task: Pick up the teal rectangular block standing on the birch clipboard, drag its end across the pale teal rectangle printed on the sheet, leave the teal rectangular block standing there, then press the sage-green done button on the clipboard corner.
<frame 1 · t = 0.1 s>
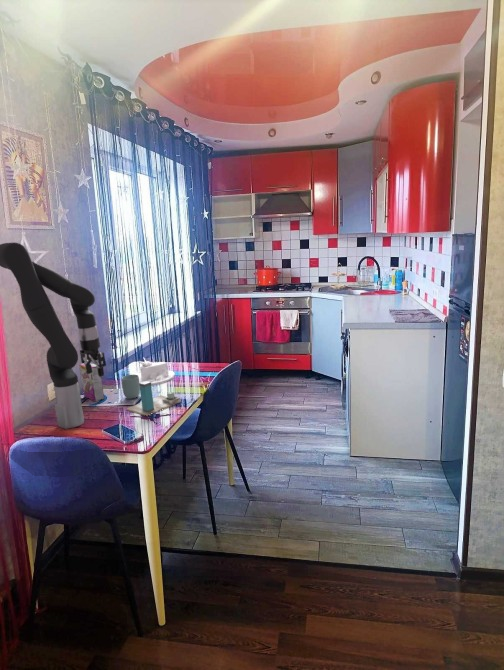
hand: (95, 374, 197), 17 cm above the table, tool pointing down, fingers open, 8 cm apart
candy bar box: (94, 398, 220), on the table
cup: (132, 397, 218), on the table
teal rectangular block: (148, 410, 198), point 1 cm above the table, touching clipboard
done button: (170, 395, 207), point 3 cm above the table, slide at 0.0 cm
clipboard: (154, 405, 205), on the table
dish: (151, 379, 246), on the table
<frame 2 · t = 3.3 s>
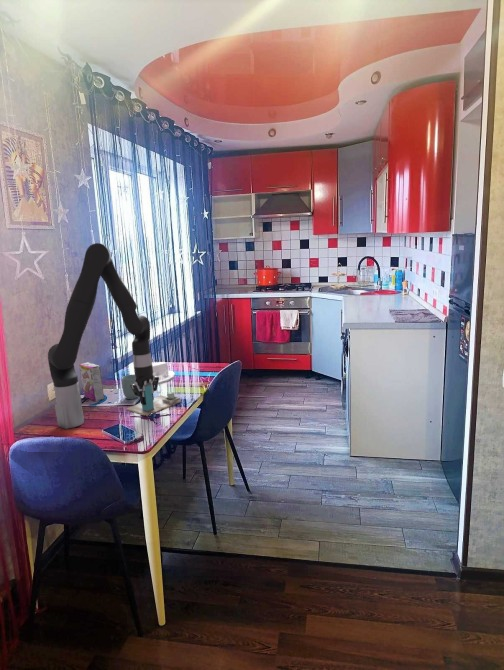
hand: (147, 402, 198), 4 cm above the table, tool pointing down, fingers closed on teal rectangular block, 3 cm apart
teal rectangular block: (148, 410, 198), point 1 cm above the table, touching clipboard, gripper
everything else where it was.
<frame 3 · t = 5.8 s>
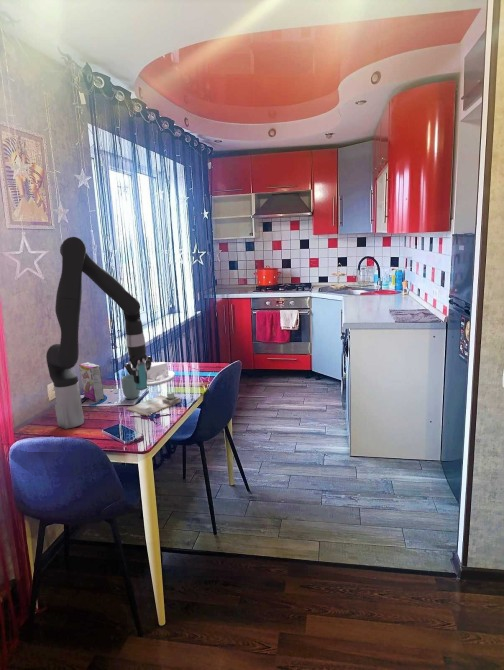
hand: (141, 381, 204), 11 cm above the table, tool pointing down, fingers closed on teal rectangular block, 3 cm apart
teal rectangular block: (141, 388, 205), point 8 cm above the table, touching gripper
everything else where it was.
when the fingers open (4 cm above the table, at t = 8.2 s): teal rectangular block stays where it is, resting on clipboard.
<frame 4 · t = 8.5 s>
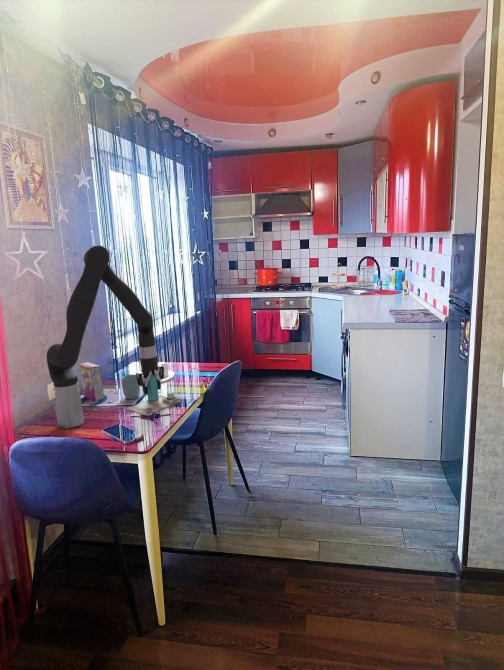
hand: (152, 391, 209), 5 cm above the table, tool pointing down, fingers open, 6 cm apart
teal rectangular block: (153, 400, 210), point 1 cm above the table, touching clipboard
everything else where it was.
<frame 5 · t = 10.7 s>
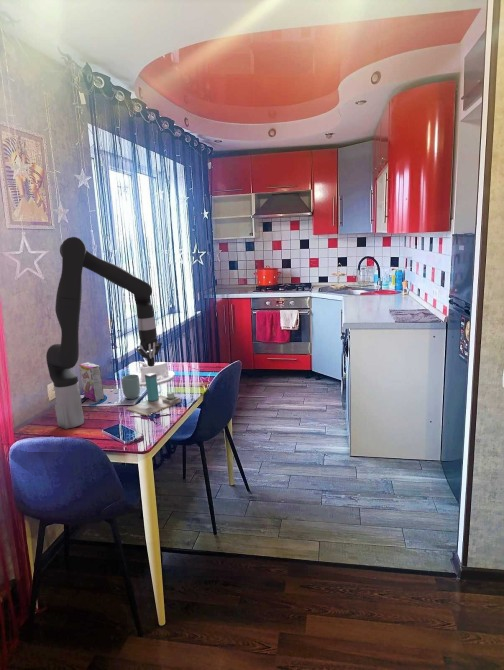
hand: (151, 365, 206), 17 cm above the table, tool pointing down, fingers closed
nothing on the table moved.
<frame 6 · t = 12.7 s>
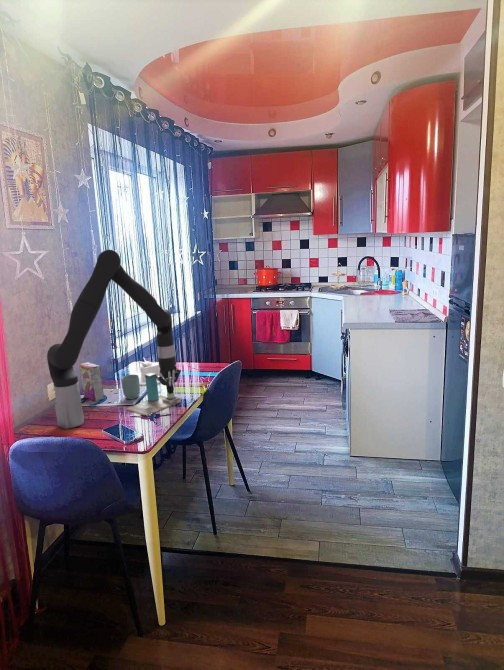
hand: (170, 393, 207), 4 cm above the table, tool pointing down, fingers closed
done button: (170, 395, 207), point 3 cm above the table, slide at 0.0 cm, touching gripper
everything else where it was.
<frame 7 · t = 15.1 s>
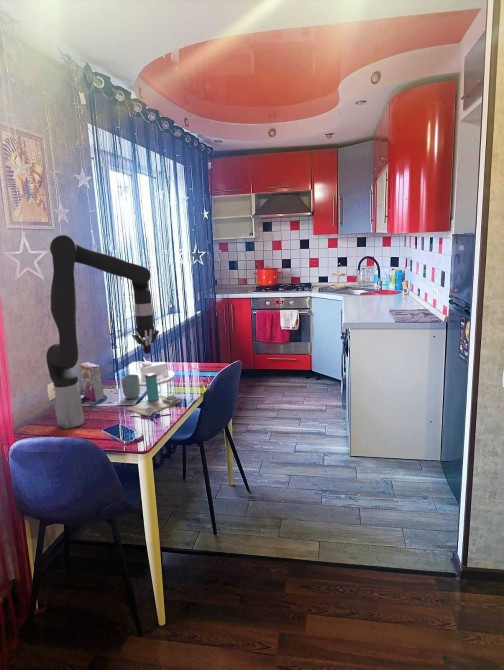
hand: (147, 353, 202), 23 cm above the table, tool pointing down, fingers closed
done button: (171, 397, 207), point 2 cm above the table, slide at 1.0 cm
everything else where it was.
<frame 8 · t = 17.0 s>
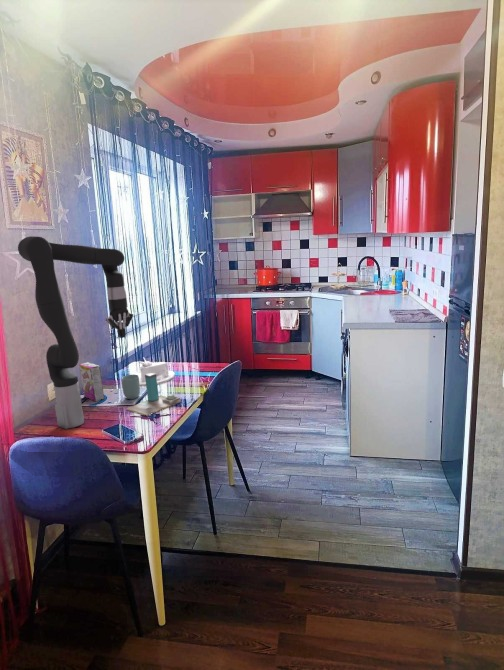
hand: (122, 337, 201), 31 cm above the table, tool pointing down, fingers closed
nothing on the table moved.
at the end: done button slide at 1.0 cm; teal rectangular block inside the target area (1.3 cm from its centre), point 0.8 cm above the table; the gripper is holding nothing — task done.
